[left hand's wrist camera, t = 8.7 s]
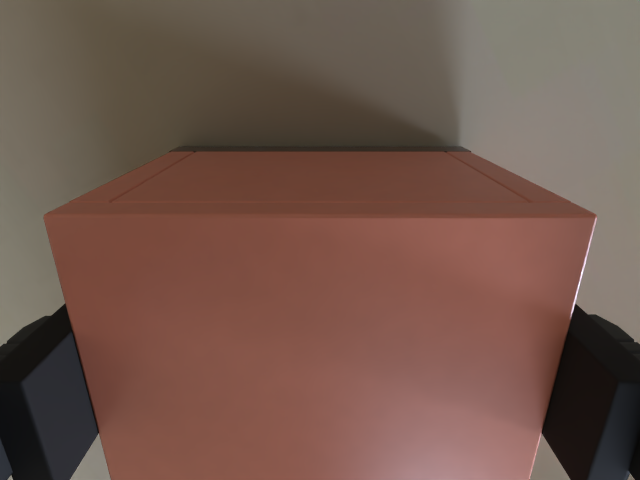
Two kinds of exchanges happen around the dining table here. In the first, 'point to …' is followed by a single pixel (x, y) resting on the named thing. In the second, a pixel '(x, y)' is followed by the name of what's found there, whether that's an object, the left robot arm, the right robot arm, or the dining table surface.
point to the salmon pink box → (320, 313)
